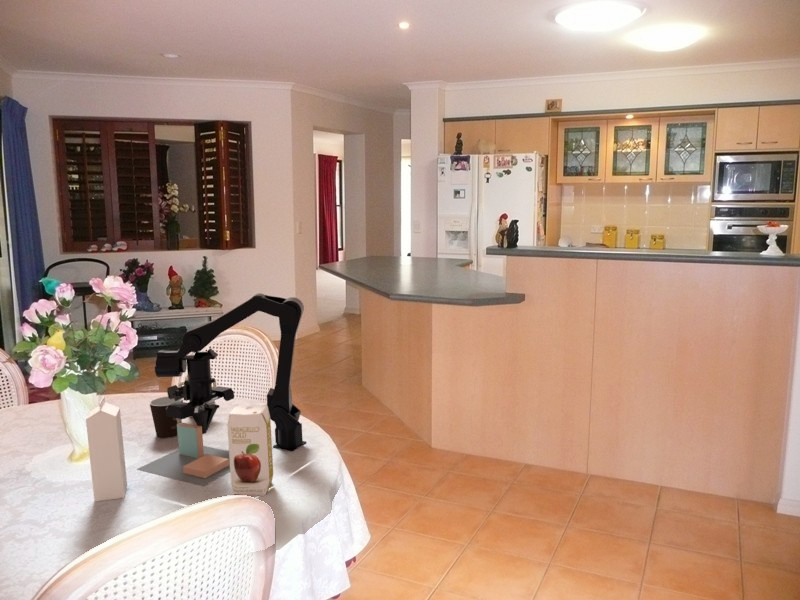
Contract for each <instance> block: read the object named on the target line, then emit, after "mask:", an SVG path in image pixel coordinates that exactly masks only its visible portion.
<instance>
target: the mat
mask: <svg viewBox="0 0 800 600" xmlns="http://www.w3.org/2000/svg"><path fill="white" fill-rule="evenodd" d="M203 450H204V456H205V455H207V454H208V455H213V456H217V457H222V458H226V459H229V466H227V467H225V468H223V469H222V470H220V471H218V472H216V473H214V474H213V475H211V476H209V477H207V478H202V477H197V476H193V475H189V474H185V473H183V466H185V465H187V464H189V463H191V462H193V461H195V460H197V459H199V458H194V457H190V456H185V455H181V454H179V448H178V449H177V450H174V451H173V452H170V453H168V454H166V455H164V456H162V457H159V458H157V459H155V460H153V461H151V462H149V463H146V464H144V465H142V466H140V467H138V468H136V471H142V472H144V473H149V474H153V475H157V476H161V477H165V478H168V479H172V480H176V481H177V480H178V481H181V482H184V483H188V484H192V485H197V486H201V487H206V486H207V485H210V484H211V483H213V482H214V481H216V480H218V479H220V478H222V477H223V476H225V475H227V474H229V473H230V458H229V450H226V449H225V450H224V449H221V448H215V447H211V446H206V445H203Z"/></svg>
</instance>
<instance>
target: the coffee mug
mask: <svg viewBox="0 0 800 600" xmlns="http://www.w3.org/2000/svg"><path fill="white" fill-rule="evenodd" d="M178 401H179V402H184V398H182V399H179V400H178ZM178 401H175V400H174V399H169V397H168V395H167V396H161V397H157V398H154V399H152V400H151V401H149V408H150V411H151V417H152V422H153V425H154V430H155V435H156V438H159V439H171V438H174V437H178V434H177V424H179V423H181V422H182V420H183V419H177V418H172V417H167V416H166V408H167V406H168V405H170V404H173V403H176V402H178ZM182 423H183V422H182Z"/></svg>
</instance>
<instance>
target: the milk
mask: <svg viewBox="0 0 800 600" xmlns="http://www.w3.org/2000/svg"><path fill="white" fill-rule="evenodd" d="M121 416H122V415H121V408H120V407H118V406H117V405H114V404H111V403H108V402H106V398H105V396H103V397H102V399H101V400H100V402H99V405H98V406H96V407H95V408H93V409H92V410H90V412H89V413H88V415H87V417H86V418H85V423H86V424H85V425H86V434H87V442H88V443H87V444H88V452H89V462H90V472H91V481H92V492H93V501H94V503H96V502H103V501H110V500H116V499H118V500H119V499H123V498H125V494H126V491H127V487H128V480H127V471H126V470H127V469H126V461H125V459H126V458H125V448H124V439H123V427H122V418H121Z"/></svg>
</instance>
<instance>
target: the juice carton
mask: <svg viewBox="0 0 800 600" xmlns="http://www.w3.org/2000/svg"><path fill="white" fill-rule="evenodd" d="M271 421H272V420H271V419H270V414H269V410H268V406H267V404H261V405H259V404H258V405H253V406H252V405H242V404H238V405H236V406H235V407H234V408H233V409H232V410H231V412H229V413H228V420H227V424H226V425H227V426H226V427H227V439H228V440H227V442H228V451H229V458H230V472H229V473H230V483H231V488H232V492H233V494H243V495H242V496H246V495H247V496H250V495H252V496H257V497H264V496H266V495H267V492H268V490H269V489H270V486H271V484H272V482H273V478H274V459H273V458H274V457H273V440H272V438H273V437H272V423H271Z"/></svg>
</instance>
